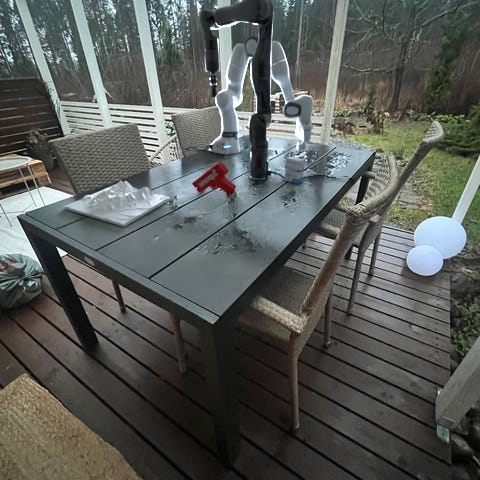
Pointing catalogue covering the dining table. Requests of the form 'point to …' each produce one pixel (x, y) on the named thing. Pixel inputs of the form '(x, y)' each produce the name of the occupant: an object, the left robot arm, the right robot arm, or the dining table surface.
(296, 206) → the dining table surface
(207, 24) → the right robot arm
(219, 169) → the toy gun
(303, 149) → the block
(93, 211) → the relief map
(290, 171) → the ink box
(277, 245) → the dining table surface
